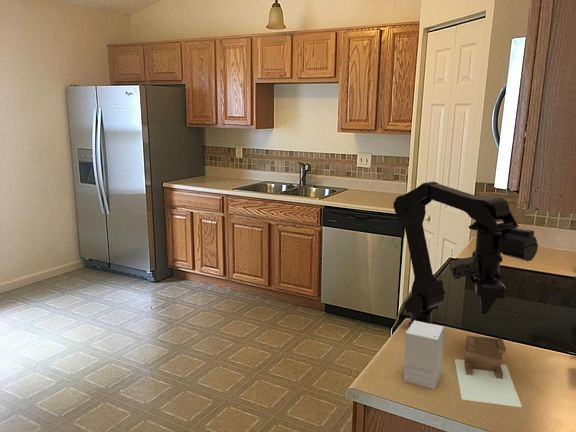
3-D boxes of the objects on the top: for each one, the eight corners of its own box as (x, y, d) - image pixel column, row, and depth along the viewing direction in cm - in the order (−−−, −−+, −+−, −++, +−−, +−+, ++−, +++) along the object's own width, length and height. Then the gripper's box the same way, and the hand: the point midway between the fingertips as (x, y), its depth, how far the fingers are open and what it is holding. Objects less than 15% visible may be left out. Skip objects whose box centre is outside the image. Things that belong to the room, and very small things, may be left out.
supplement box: (442, 374, 111) (445, 326, 108) (434, 390, 105) (438, 339, 102) (411, 366, 115) (414, 319, 112) (402, 381, 109) (404, 332, 106)
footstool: (464, 365, 114) (466, 335, 113) (499, 369, 112) (502, 339, 111) (466, 374, 110) (468, 343, 109) (502, 378, 108) (505, 347, 107)
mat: (454, 360, 117) (454, 359, 117) (506, 365, 114) (506, 364, 114) (461, 400, 101) (461, 399, 101) (521, 408, 98) (521, 407, 98)
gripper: (449, 237, 122) (445, 293, 126) (456, 260, 105) (451, 323, 108) (495, 240, 120) (490, 296, 123) (510, 263, 102) (503, 328, 106)
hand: (482, 310), depth 115 cm, fingers open, 3 cm apart
